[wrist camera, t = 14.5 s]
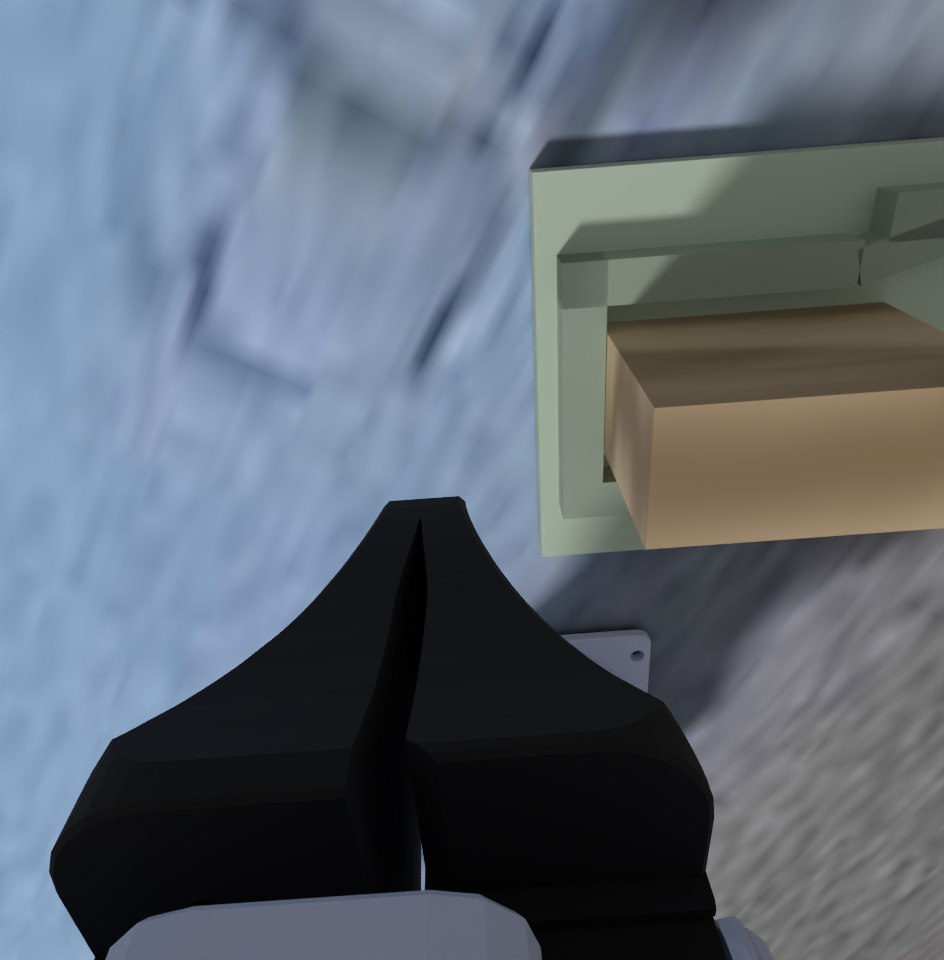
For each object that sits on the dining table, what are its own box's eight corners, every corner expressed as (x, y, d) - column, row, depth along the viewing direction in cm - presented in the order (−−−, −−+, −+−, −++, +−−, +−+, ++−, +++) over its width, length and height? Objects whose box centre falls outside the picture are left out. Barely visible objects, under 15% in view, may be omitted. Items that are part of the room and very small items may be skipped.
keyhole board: (1088, 502, 25) (1131, 531, 23) (538, 543, 25) (545, 575, 23) (1250, 113, 19) (1323, 116, 17) (529, 169, 19) (536, 177, 17)
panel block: (858, 418, 22) (987, 524, 17) (598, 437, 22) (645, 549, 17) (883, 301, 20) (1037, 380, 15) (600, 323, 20) (654, 408, 15)
